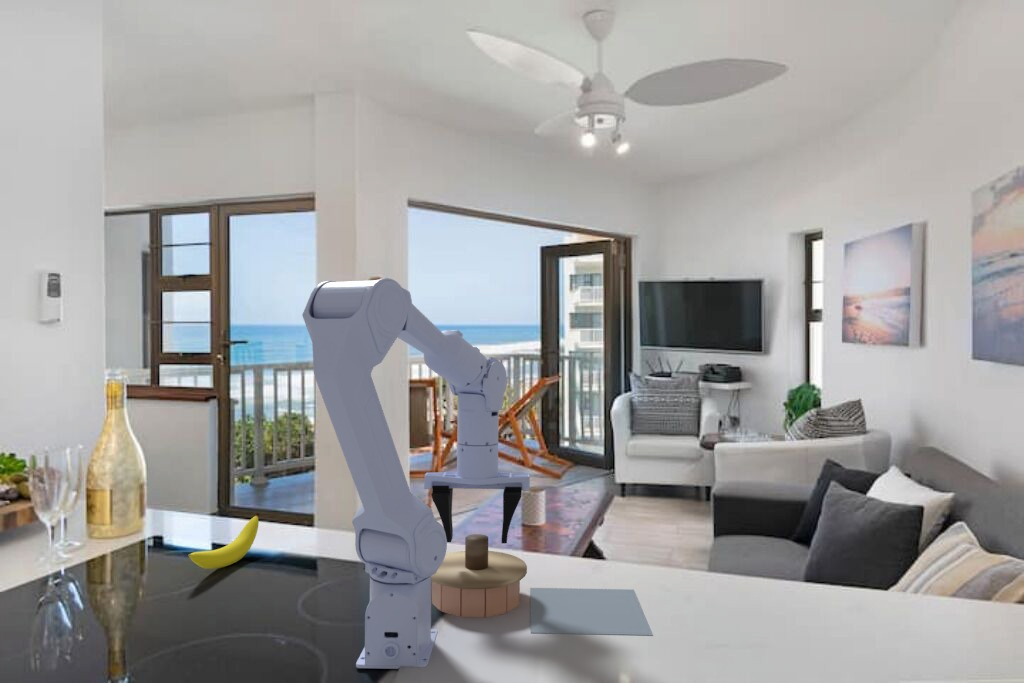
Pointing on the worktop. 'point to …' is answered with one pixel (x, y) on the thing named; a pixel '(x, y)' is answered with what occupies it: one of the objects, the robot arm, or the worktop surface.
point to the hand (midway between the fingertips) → (476, 540)
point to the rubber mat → (587, 612)
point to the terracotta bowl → (475, 600)
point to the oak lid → (479, 567)
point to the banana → (228, 549)
